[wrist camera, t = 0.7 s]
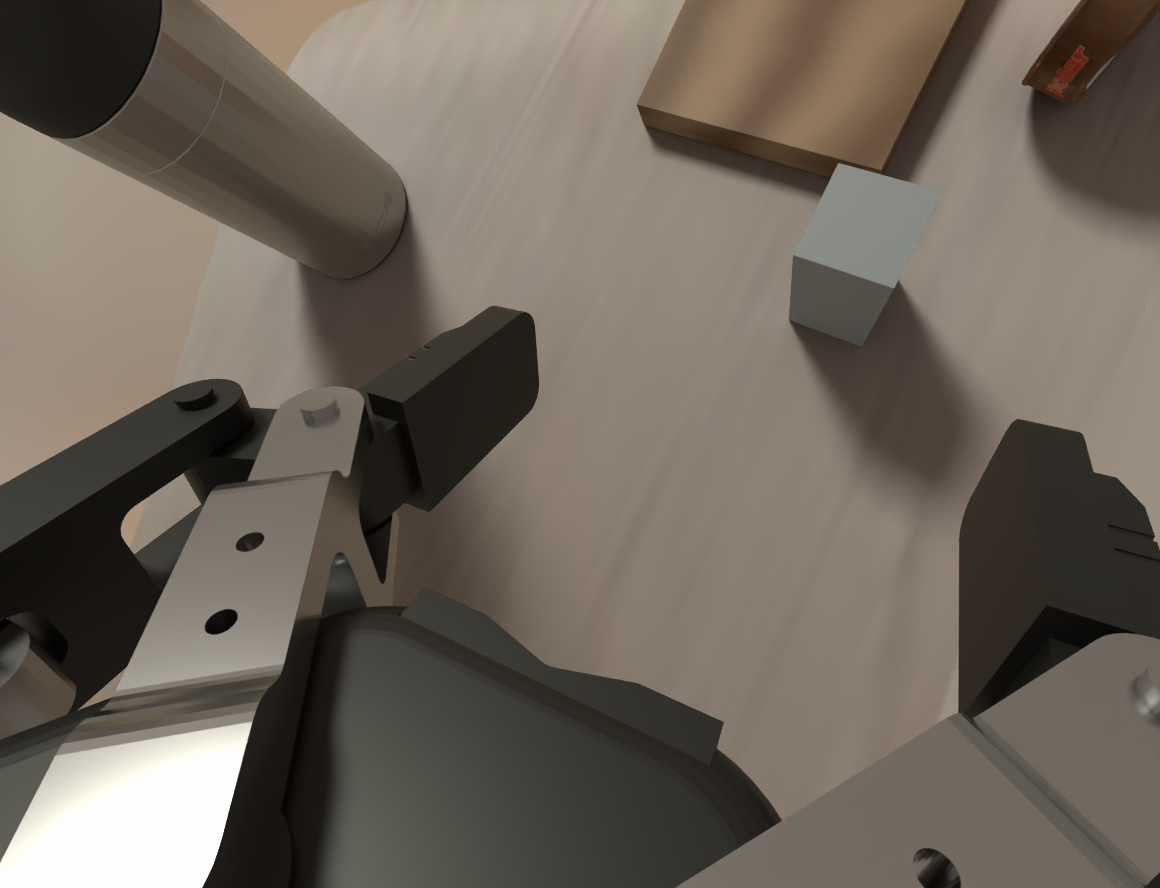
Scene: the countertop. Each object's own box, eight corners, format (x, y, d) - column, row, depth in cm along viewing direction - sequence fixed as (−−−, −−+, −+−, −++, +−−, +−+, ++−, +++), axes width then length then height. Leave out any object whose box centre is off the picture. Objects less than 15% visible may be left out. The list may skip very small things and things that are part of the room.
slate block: (788, 320, 32) (793, 254, 24) (822, 253, 32) (838, 162, 23) (861, 347, 31) (894, 288, 22) (896, 277, 31) (943, 191, 22)
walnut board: (644, 125, 36) (636, 104, 34) (746, -93, 35) (744, -126, 33) (874, 190, 31) (880, 170, 29) (998, -59, 30) (1012, -96, 29)
